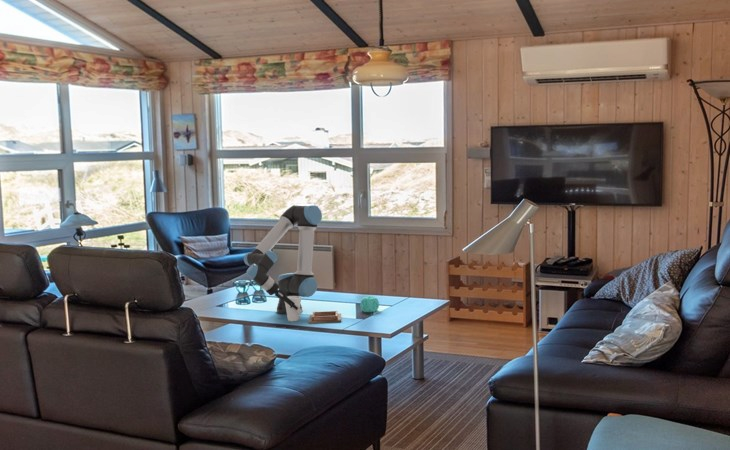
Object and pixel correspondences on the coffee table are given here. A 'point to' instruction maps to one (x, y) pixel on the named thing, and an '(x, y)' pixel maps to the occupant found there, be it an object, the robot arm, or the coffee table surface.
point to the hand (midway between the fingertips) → (298, 311)
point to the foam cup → (291, 313)
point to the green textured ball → (369, 304)
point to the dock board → (325, 317)
